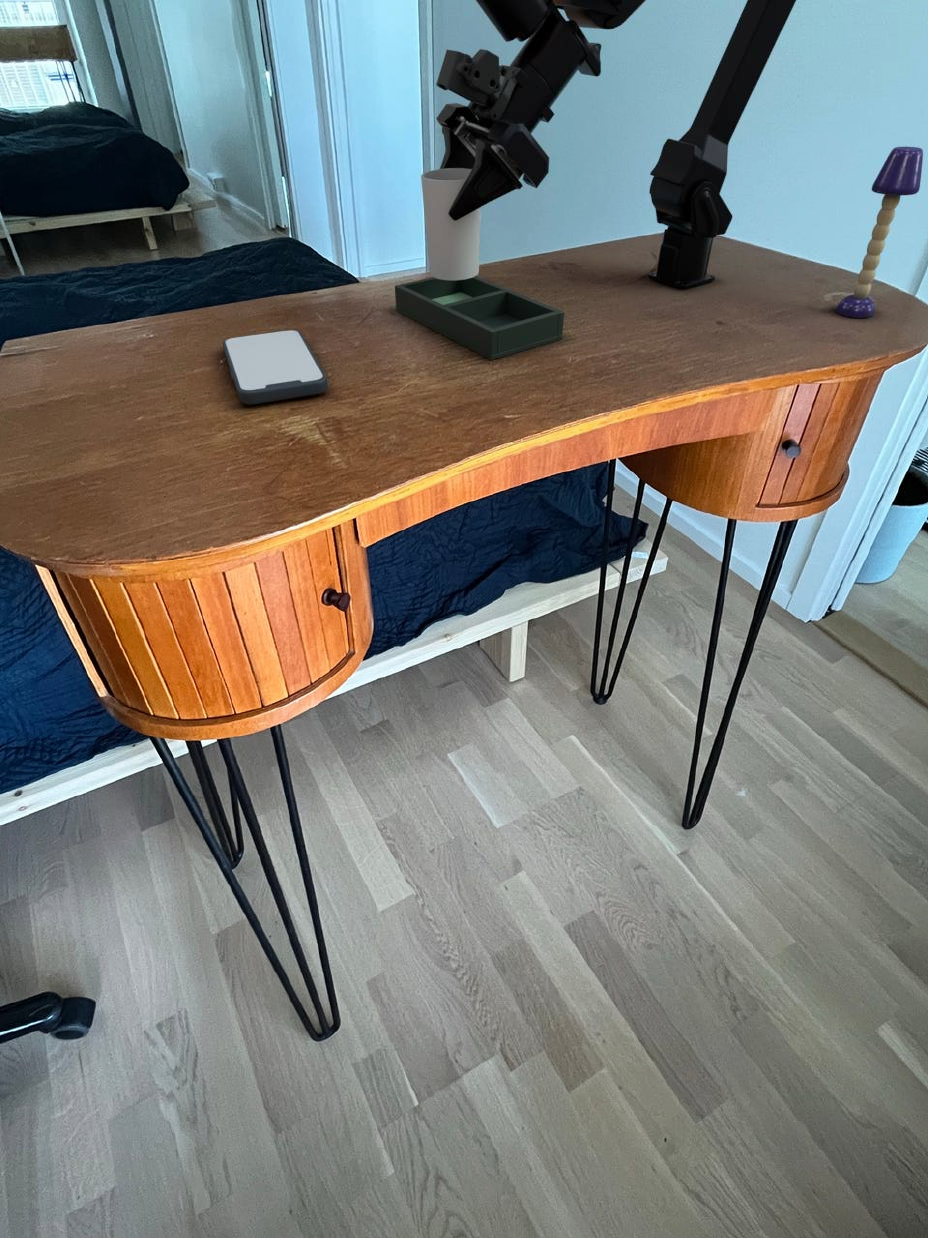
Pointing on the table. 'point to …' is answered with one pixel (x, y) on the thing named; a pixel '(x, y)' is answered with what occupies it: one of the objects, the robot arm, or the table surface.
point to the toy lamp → (884, 222)
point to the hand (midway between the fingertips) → (440, 210)
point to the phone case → (273, 367)
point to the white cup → (449, 226)
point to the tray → (480, 315)
